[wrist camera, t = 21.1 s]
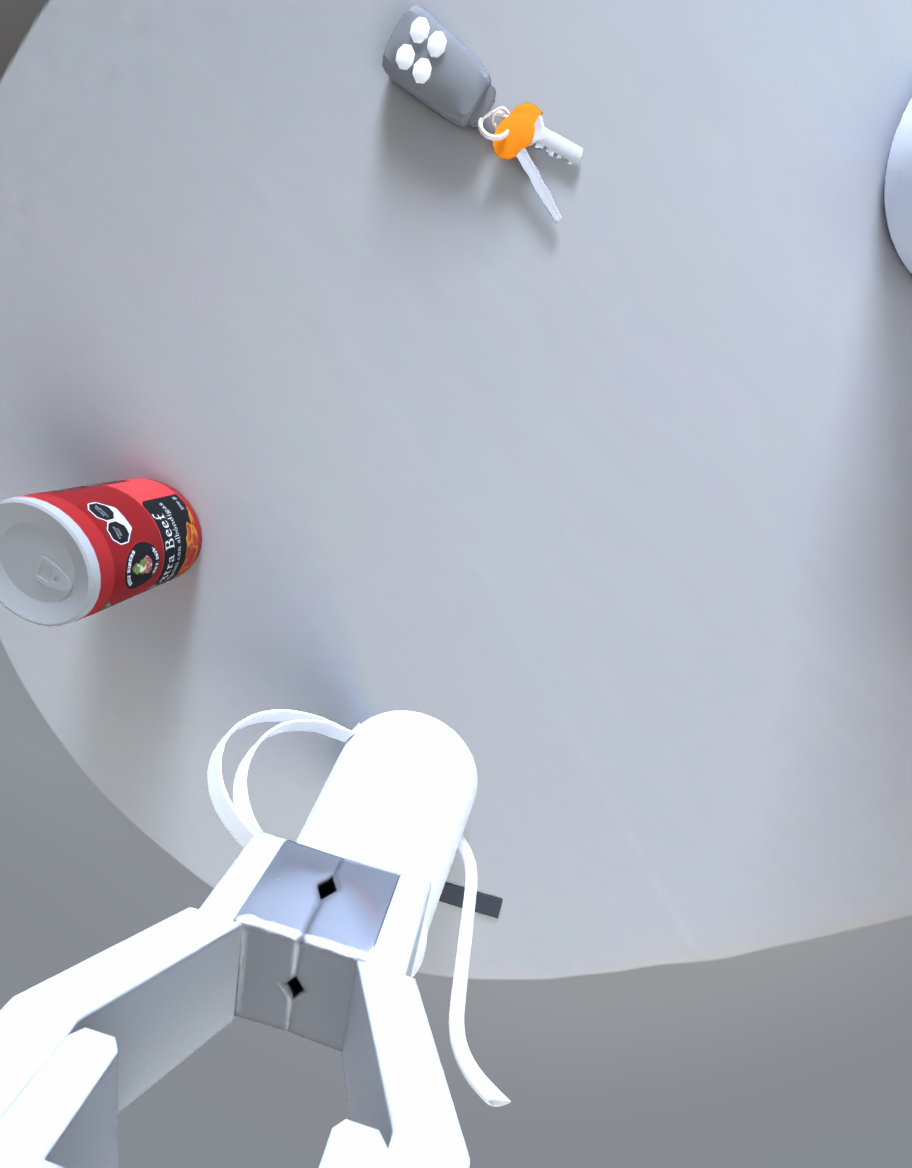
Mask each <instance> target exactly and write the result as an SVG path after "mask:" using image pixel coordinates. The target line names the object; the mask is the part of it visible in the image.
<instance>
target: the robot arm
mask: <svg viewBox="0 0 912 1168" xmlns="http://www.w3.org/2000/svg"><path fill="white" fill-rule="evenodd" d="M884 200H885V212H886V219H887V224H888V228H889V232H890V236H891V238H892V241H893V244H894V246H895V248H896V251H897V253H898V255H899V256H900V258H901V260H902V262H903V263H904V265H905V266H906V267H907V269H908V270H909V272H910V273H911V274H912V97H911V99H910V101H909V103H908V105H907V107H906V109H905V111H904V113H903V115H902V118H901V120H900V122H899V125H898V127H897V130H896V133H895V136H894V139H893V142H892V145H891V149H890V153H889V157H888V162H887V168H886V175H885V188H884ZM430 890H431V882H428V881H425V880H421V879H418V878H414V877H411V876H407V875H404V874H402V875H401V873H397V872H394V871H390V870H387V869H383V868H379V867H376V866H372V865H369V864H365V863H362V862H358V861H355V860H351V859H348V858H342V857H339V856H336V855H333V854H330V853H327V852H324V851H321V850H318V849H315V848H312V847H309V846H306V845H303V844H299V843H296V842H293V841H290V840H285V839H282V838H279V837H276V836H273V835H270V834H267V833H264V832H261V831H260V832H259V833H257V834H256V835H255V836H253V837H252V838H251V839H250V841H249V842H248V843H247V845H246V846H245V847H244V849H243V850H242V851H241V853H240V854H239V856H238V857H237V858H236V860H235V861H234V862H233V864H232V865H231V866H230V868H229V869H228V871H227V872H226V873H225V875H224V876H223V877H222V879H221V880H220V881H219V883H218V884H217V885H216V887H215V888H214V890H213V891H212V892H211V894H210V895H209V896H208V898H207V899H206V901H205V902H204V903H203V905H202V906H201V907H200V909H199V910H198V909H195V908H191V907H189V908H187V909H185V910H183V911H181V912H179V913H177V914H175V915H173V916H171V917H169V918H167V919H165V920H164V921H161V922H160V923H158V924H156V925H154V926H152V927H150V928H148V929H146V930H144V931H142V932H140V933H138V934H136V935H134V936H132V937H130V938H128V939H126V940H124V941H122V942H120V943H118V944H116V945H115V946H112V947H110V948H108V949H106V950H105V951H103V952H101V953H99V954H97V955H95V956H93V957H91V958H89V959H87V960H85V961H83V962H81V963H79V964H77V965H75V966H73V967H71V968H69V969H67V970H65V971H63V972H61V973H59V974H57V975H55V976H53V977H51V978H49V979H47V980H45V981H43V982H42V983H40V984H38V985H36V986H34V987H32V988H30V989H28V990H26V991H24V992H22V993H20V994H18V995H16V996H14V997H13V998H11V1000H10V1001H9V1002H8V1003H7V1004H6V1005H5V1006H4V1007H3V1008H2V1009H1V1010H0V1168H118V1113H119V1112H120V1111H121V1110H122V1109H124V1108H125V1107H126V1106H127V1105H129V1104H130V1103H131V1102H132V1101H134V1100H135V1099H136V1098H137V1097H138V1096H140V1095H141V1094H142V1093H143V1092H145V1091H146V1090H147V1089H148V1088H150V1087H151V1086H152V1085H153V1084H155V1083H156V1082H157V1081H158V1080H160V1079H161V1078H162V1077H163V1076H164V1075H166V1074H167V1073H168V1072H169V1071H171V1070H172V1069H173V1068H174V1067H176V1066H177V1065H178V1064H179V1063H181V1062H182V1061H183V1060H184V1059H186V1058H187V1057H188V1056H189V1055H190V1054H192V1053H193V1052H194V1051H195V1050H197V1049H198V1048H199V1047H200V1046H202V1045H203V1044H204V1043H205V1042H206V1041H208V1040H209V1039H210V1038H211V1037H213V1036H214V1035H215V1034H216V1033H218V1032H219V1031H220V1030H221V1029H223V1028H224V1027H225V1026H226V1025H228V1024H229V1023H230V1022H231V1021H232V1020H233V1019H234V1015H235V1016H238V1017H242V1018H245V1019H248V1020H252V1021H255V1022H258V1023H261V1024H265V1025H268V1026H272V1027H275V1028H278V1029H281V1030H285V1031H288V1032H291V1033H293V1034H296V1035H299V1036H301V1037H304V1038H307V1039H309V1040H312V1041H315V1042H318V1043H320V1044H323V1045H326V1046H328V1047H331V1048H333V1049H336V1050H339V1051H342V1055H341V1056H342V1064H343V1072H344V1080H345V1088H346V1095H347V1102H348V1110H349V1119H350V1120H347V1119H345V1120H344V1121H342V1122H341V1123H339V1124H338V1125H336V1126H335V1127H333V1128H332V1130H331V1133H330V1137H329V1139H328V1142H327V1145H326V1148H325V1151H324V1154H323V1157H322V1160H321V1163H320V1166H319V1168H469V1165H470V1157H469V1154H468V1151H467V1147H466V1144H465V1141H464V1138H463V1134H462V1131H461V1128H460V1124H459V1121H458V1118H457V1114H456V1111H455V1108H454V1105H453V1101H452V1099H451V1095H450V1092H449V1088H448V1085H447V1082H446V1078H445V1075H444V1072H443V1069H442V1065H441V1062H440V1059H439V1055H438V1052H437V1049H436V1046H435V1042H434V1039H433V1036H432V1033H431V1029H430V1026H429V1023H428V1019H427V1016H426V1013H425V1009H424V1006H423V1003H422V1000H421V996H420V993H419V990H418V987H417V983H416V980H415V979H414V978H412V977H411V973H412V969H413V965H414V960H415V956H416V952H417V948H418V943H419V939H420V935H421V930H422V926H423V921H424V917H425V912H426V908H427V903H428V899H429V894H430Z"/></svg>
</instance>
